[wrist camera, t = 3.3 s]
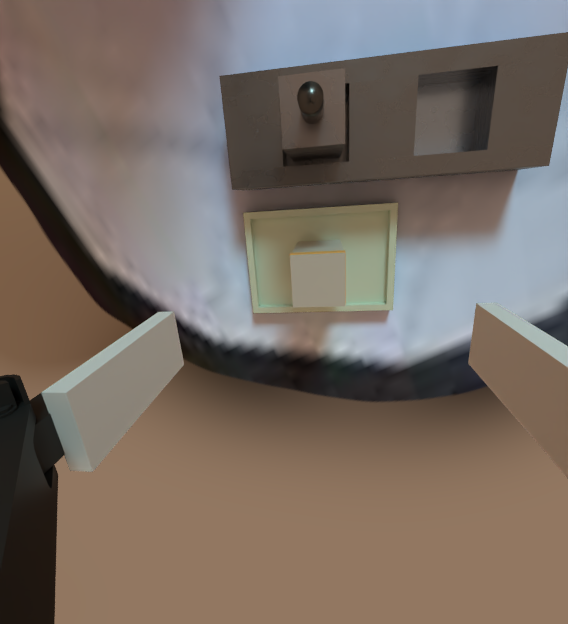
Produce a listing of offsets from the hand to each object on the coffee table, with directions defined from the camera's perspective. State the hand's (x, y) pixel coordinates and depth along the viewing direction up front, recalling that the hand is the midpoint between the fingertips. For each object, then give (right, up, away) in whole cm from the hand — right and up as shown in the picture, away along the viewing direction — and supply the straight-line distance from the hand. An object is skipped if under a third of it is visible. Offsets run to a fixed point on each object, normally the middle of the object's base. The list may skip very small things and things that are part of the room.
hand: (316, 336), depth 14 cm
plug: (+2, +6, +17) cm, 18 cm away
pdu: (+6, +17, +13) cm, 22 cm away
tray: (+2, +6, +18) cm, 19 cm away
